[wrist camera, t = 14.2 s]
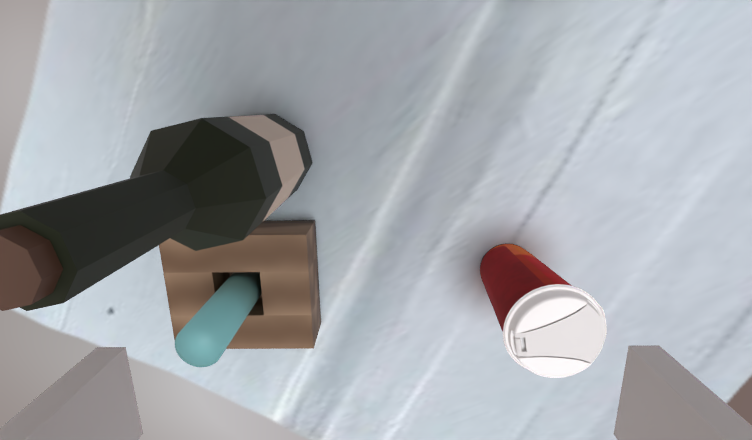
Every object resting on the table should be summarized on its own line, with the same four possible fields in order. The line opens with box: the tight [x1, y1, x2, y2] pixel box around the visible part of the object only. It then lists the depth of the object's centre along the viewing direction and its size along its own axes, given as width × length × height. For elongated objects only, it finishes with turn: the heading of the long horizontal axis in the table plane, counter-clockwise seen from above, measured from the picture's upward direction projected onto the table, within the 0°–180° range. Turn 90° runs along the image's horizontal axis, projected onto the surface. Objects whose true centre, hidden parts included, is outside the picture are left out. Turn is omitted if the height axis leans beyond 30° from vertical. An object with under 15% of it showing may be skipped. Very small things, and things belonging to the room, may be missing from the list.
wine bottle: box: [0, 114, 312, 311], centre depth 26 cm, size 8×8×30 cm
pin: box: [175, 272, 262, 367], centre depth 37 cm, size 4×4×13 cm
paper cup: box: [480, 244, 607, 378], centre depth 37 cm, size 8×8×14 cm
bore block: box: [159, 220, 321, 349], centre depth 42 cm, size 12×14×5 cm
